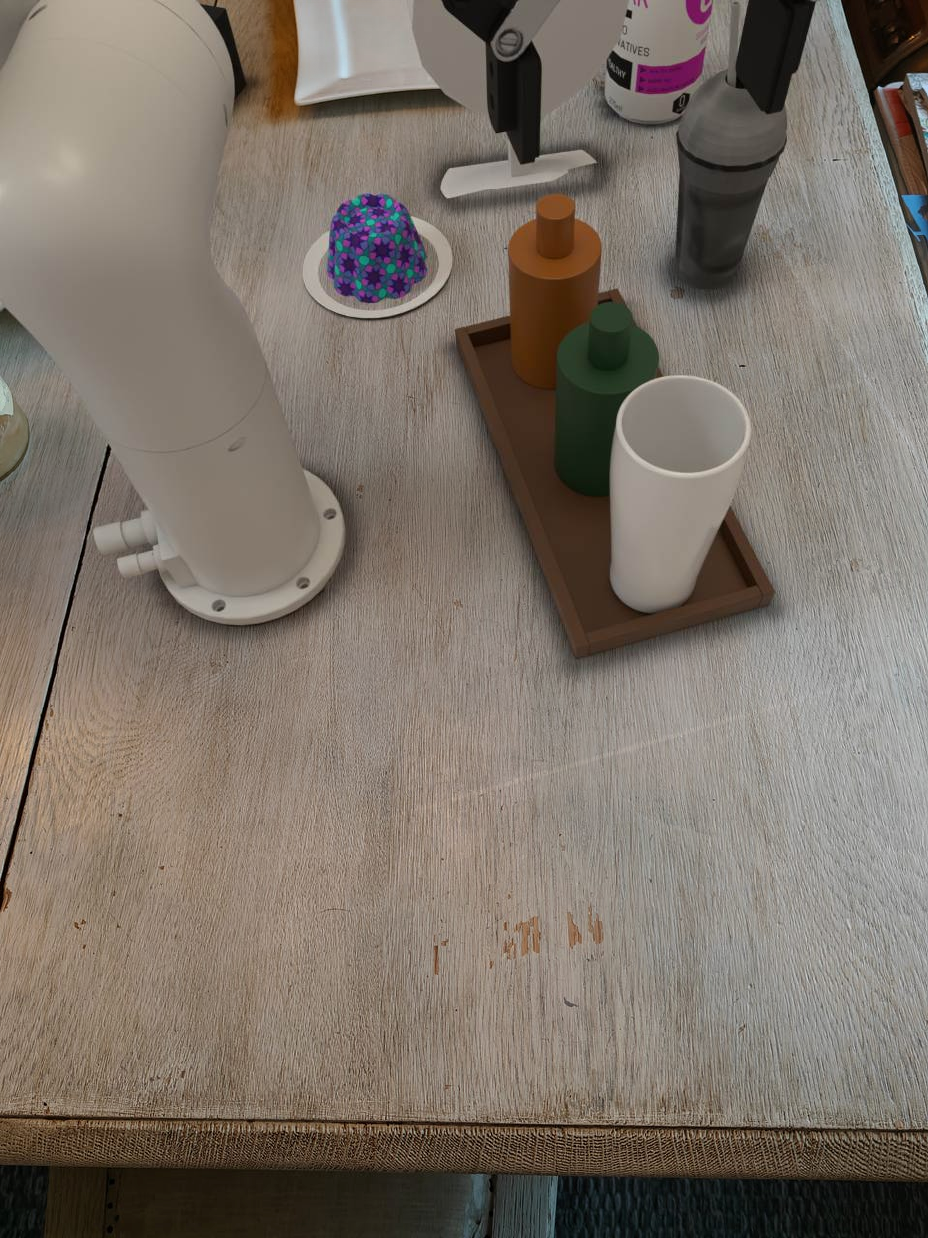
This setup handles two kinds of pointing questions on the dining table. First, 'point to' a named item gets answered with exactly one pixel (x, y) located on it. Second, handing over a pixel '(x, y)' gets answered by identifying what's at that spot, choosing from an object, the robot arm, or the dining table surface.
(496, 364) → the tray
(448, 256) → the pudding
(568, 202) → the amber bottle
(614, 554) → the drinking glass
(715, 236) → the beverage cup
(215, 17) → the digital camera
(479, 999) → the dining table surface
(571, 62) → the heart sculpture
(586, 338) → the green bottle
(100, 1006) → the dining table surface
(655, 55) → the supplement can
